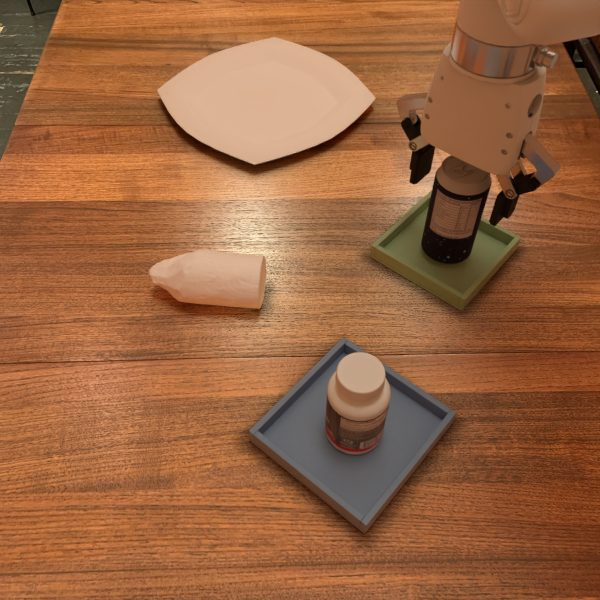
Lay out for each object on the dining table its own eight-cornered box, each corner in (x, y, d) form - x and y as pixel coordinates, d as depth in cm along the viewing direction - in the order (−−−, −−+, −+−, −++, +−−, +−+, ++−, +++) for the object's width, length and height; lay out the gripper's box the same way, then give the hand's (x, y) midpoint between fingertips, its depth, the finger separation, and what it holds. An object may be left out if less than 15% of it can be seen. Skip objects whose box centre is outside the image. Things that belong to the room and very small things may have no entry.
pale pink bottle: (161, 269, 73) (152, 233, 69) (267, 277, 73) (265, 242, 68) (148, 311, 70) (138, 276, 65) (259, 320, 69) (257, 285, 65)
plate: (134, 100, 94) (131, 88, 93) (277, 36, 106) (277, 24, 104) (251, 194, 81) (251, 182, 80) (400, 110, 93) (401, 98, 91)
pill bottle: (324, 403, 62) (327, 343, 55) (380, 404, 62) (392, 344, 55) (324, 456, 59) (328, 400, 51) (384, 457, 59) (397, 401, 51)
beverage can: (480, 257, 74) (506, 175, 65) (440, 276, 72) (461, 194, 63) (449, 227, 77) (469, 144, 68) (410, 244, 76) (426, 161, 66)
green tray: (517, 248, 76) (521, 237, 74) (461, 311, 70) (464, 300, 68) (428, 201, 81) (431, 190, 79) (369, 256, 75) (371, 245, 73)
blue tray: (453, 422, 61) (456, 412, 60) (364, 534, 55) (366, 526, 53) (342, 347, 67) (343, 336, 65) (249, 440, 60) (248, 430, 59)
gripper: (612, 62, 54) (550, 215, 67) (434, -4, 61) (410, 147, 74) (571, 103, 50) (514, 256, 63) (387, 27, 57) (370, 179, 70)
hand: (458, 197), depth 69 cm, fingers open, 9 cm apart
